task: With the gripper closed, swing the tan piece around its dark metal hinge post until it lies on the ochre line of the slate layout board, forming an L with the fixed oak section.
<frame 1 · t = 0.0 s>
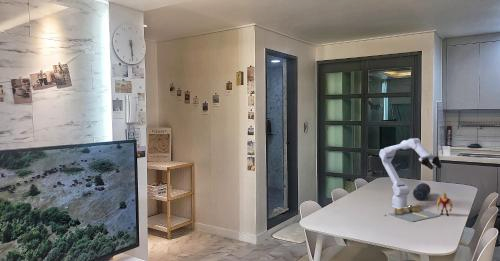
hand: (436, 168, 226), 32 cm above the table, tool tilted 50°, fingers open, 7 cm apart
hinge post: (410, 208, 241), on the layout board, point 3 cm above the table
fixed fence section: (416, 207, 244), on the layout board, point 3 cm above the table
tan piece: (401, 210, 238), point 3 cm above the table, hinge at 0.0°
action figure: (444, 215, 235), on the table
layout board: (414, 215, 236), on the table
portable speaker: (421, 198, 281), on the table
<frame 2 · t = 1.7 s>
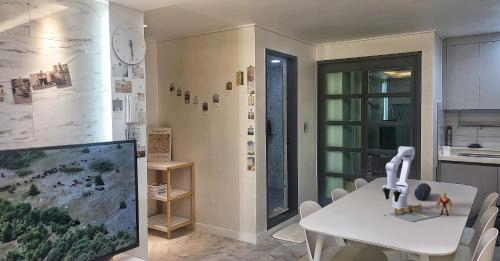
hand: (391, 200, 242), 8 cm above the table, tool pointing down, fingers open, 7 cm apart
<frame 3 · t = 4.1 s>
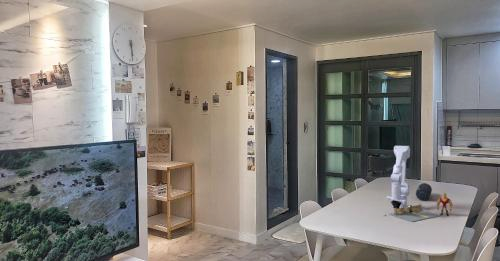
hand: (396, 212, 238), 2 cm above the table, tool pointing down, fingers closed
tan piece: (401, 210, 238), point 3 cm above the table, hinge at 0.1°, touching gripper
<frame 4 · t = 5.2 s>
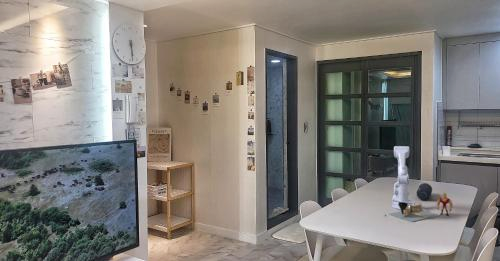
hand: (403, 214, 234), 2 cm above the table, tool pointing down, fingers closed
tan piece: (407, 211, 235), point 3 cm above the table, hinge at 27.7°, touching gripper
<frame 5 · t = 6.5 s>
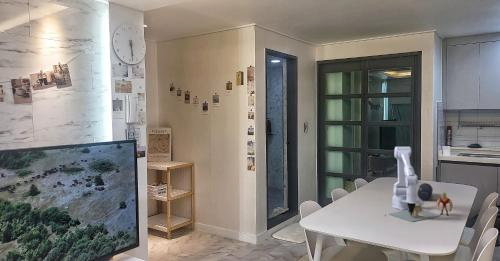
hand: (411, 215, 231), 2 cm above the table, tool pointing down, fingers closed
tan piece: (413, 211, 234), point 3 cm above the table, hinge at 54.0°, touching gripper
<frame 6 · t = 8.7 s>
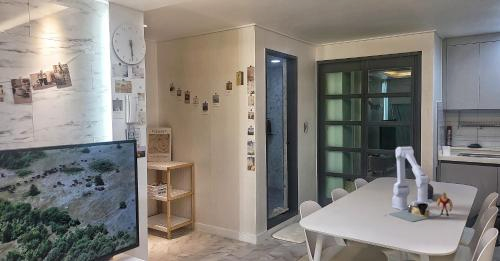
hand: (422, 214, 231), 2 cm above the table, tool pointing down, fingers closed
tan piece: (420, 211, 234), point 3 cm above the table, hinge at 92.0°, touching gripper
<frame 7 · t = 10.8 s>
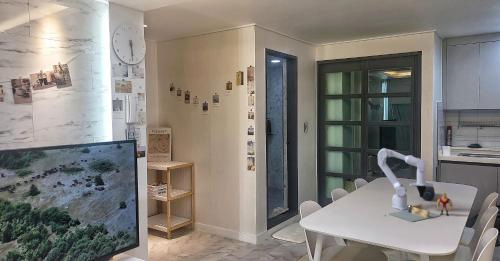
hand: (421, 196, 247), 9 cm above the table, tool pointing down, fingers closed
tan piece: (420, 211, 234), point 3 cm above the table, hinge at 92.1°
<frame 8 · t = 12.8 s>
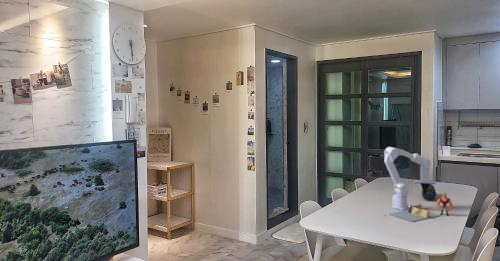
hand: (424, 194, 254), 9 cm above the table, tool pointing down, fingers closed
at the end: tan piece at +92° (first picture: +0°); action figure moved 0.2 cm from its start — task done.
